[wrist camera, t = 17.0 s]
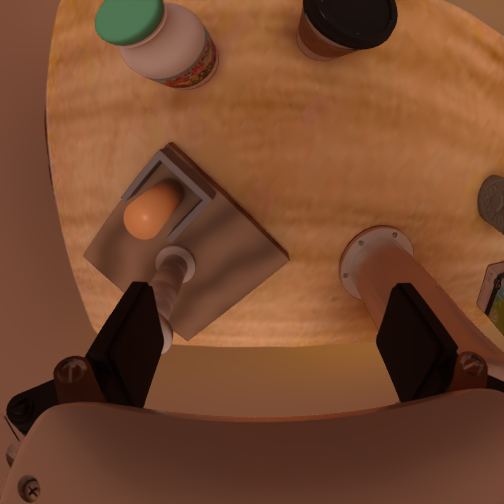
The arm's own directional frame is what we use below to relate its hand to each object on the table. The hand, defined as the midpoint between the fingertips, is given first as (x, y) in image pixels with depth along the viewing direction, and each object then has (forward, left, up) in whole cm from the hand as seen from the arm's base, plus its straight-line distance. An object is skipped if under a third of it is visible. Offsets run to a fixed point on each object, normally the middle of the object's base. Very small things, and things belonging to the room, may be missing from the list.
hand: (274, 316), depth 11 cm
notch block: (+6, +9, -26) cm, 28 cm away
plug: (+7, +9, -26) cm, 28 cm away
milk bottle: (+17, -4, -28) cm, 33 cm away
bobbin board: (0, +16, -28) cm, 32 cm away
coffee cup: (+8, -18, -28) cm, 35 cm away
